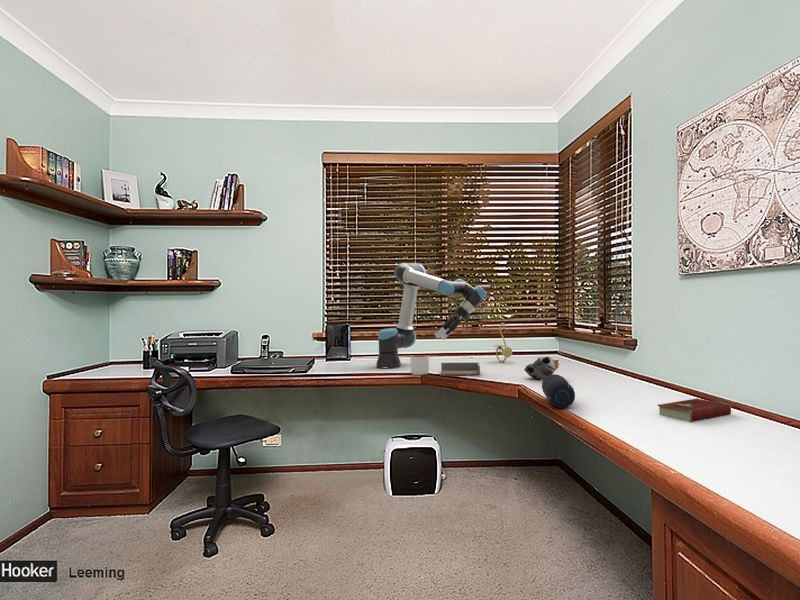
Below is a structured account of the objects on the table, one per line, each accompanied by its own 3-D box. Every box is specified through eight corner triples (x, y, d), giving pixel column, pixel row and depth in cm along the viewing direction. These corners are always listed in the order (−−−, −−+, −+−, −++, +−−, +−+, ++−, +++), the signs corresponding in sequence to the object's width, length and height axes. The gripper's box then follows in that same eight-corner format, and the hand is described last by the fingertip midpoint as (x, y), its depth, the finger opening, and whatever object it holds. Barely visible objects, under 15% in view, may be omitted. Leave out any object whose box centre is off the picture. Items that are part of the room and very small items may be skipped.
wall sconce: (514, 362, 316) (513, 323, 316) (501, 363, 313) (500, 323, 313) (502, 360, 329) (502, 322, 329) (490, 361, 326) (489, 322, 326)
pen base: (441, 371, 284) (441, 369, 284) (479, 371, 281) (479, 369, 281) (440, 376, 269) (440, 373, 269) (480, 375, 266) (480, 373, 266)
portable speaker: (577, 410, 182) (576, 382, 182) (548, 410, 183) (548, 382, 183) (566, 397, 206) (565, 372, 206) (540, 396, 208) (540, 372, 208)
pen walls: (441, 369, 284) (441, 362, 284) (479, 369, 281) (479, 362, 281) (440, 373, 269) (440, 366, 269) (480, 373, 266) (479, 366, 266)
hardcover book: (731, 415, 170) (731, 403, 170) (691, 423, 161) (691, 410, 161) (696, 409, 181) (696, 397, 181) (657, 416, 172) (657, 404, 172)
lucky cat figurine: (543, 375, 263) (555, 352, 259) (554, 387, 252) (567, 364, 248) (519, 369, 258) (531, 345, 254) (530, 381, 247) (543, 357, 243)
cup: (431, 373, 280) (430, 355, 280) (426, 375, 271) (425, 357, 271) (414, 372, 284) (413, 354, 284) (408, 375, 274) (408, 357, 274)
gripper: (475, 314, 269) (449, 344, 267) (463, 314, 294) (438, 340, 291) (465, 305, 268) (439, 334, 266) (453, 305, 293) (429, 332, 291)
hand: (439, 337), depth 279 cm, fingers open, 13 cm apart
